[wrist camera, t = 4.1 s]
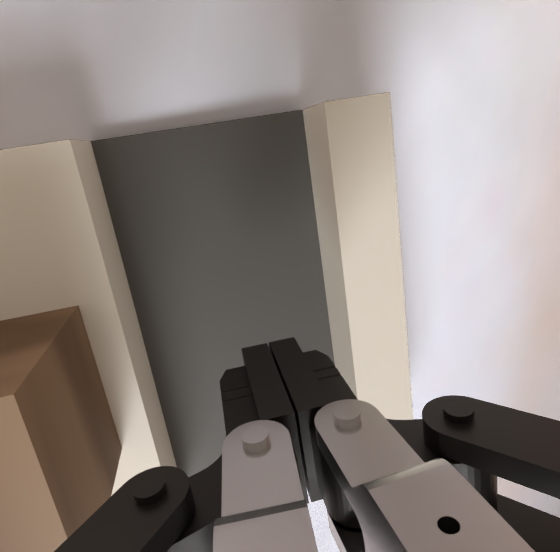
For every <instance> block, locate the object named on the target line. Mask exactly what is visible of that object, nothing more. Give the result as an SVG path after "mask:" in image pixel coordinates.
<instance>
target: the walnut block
mask: <svg viewBox="0 0 560 552" xmlns="http://www.w3.org/2000/svg"><path fill="white" fill-rule="evenodd" d="M121 451H122V446H121V443H120V440H119V437H118V433H117V430H116V427H115V423H114V420H113V417H112V414H111V410H110V407H109V404H108V400H107V397H106V394H105V391H104V387H103V384H102V381H101V377H100V374H99V371H98V368H97V364H96V361H95V358H94V354H93V351H92V348H91V345H90V341H89V338H88V335H87V331H86V328H85V325H84V322H83V318H82V315H81V312H80V308H79V305H78V306H73V307H67V308H62V309H57V310H52V311H47V312H42V313H37V314H32V315H27V316H22V317H17V318H12V319H7V320H2V321H0V552H54V551H55V550H56V549H57V548H58V547H59V546H60V545H61V544H62V543H63V542H64V541H65V540H66V539H67V538H68V537H70V536H71V535H72V534H73V533H74V532H75V531H76V530H77V529H78V528H79V527H80V526H81V525H82V524H83V523H84V522H85V521H86V520H87V519H88V518H89V517H90V516H91V515H92V514H93V513H94V512H95V511H96V510H97V509H98V508H100V507H101V506H102V505H103V504H104V503H105V502H106V501H107V500H108V499H109V498H110V497H111V495H112V490H113V486H114V482H115V477H116V473H117V469H118V464H119V460H120V456H121Z"/></svg>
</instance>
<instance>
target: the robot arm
mask: <svg viewBox="0 0 560 552" xmlns="http://www.w3.org/2000/svg"><path fill="white" fill-rule="evenodd" d="M241 350H242V356H243V361H244V366H241V367H236V368H232V369H227V370H226V371H225V372H224V374H223V376H222V377H221V379H220V389H221V398H222V406H223V414H224V422H225V430H226V438H225V440H224V442H223V446H222V454H221V456H220V457H219V458H218V459H217V460H216V461H215V462H214V463H213V464H211V465H210V466H208V467H207V468H205V469H204V470H202V471H200V472H198V473H196V474H194V475H192V476H190V477H188V476H187V474H186V473H185V472H184V471H183V470H181V469H179V468H177V467H173V466H159V467H154V468H151V469H148V470H145V471H143V472H141V473H139V474H137V475H135V476H134V477H132V478H131V479H129V480H128V481H127V482H126V483H124V484H123V485H122V486H121V487H120V488H119V489H118V490H117V491H116V492H115V493H114V494H113V495H112V496H111V497H110V498H109V499H108V500H107V501H106V502H105V503H104V504H103V505H102V506H101V507H100V508H98V509H97V510H96V511H95V512H94V513H93V514H92V515H91V516H90V517H89V518H88V519H87V520H86V521H85V522H84V523H83V524H82V525H81V526H80V527H79V528H78V529H77V530H76V531H75V532H74V533H73V534H72V535H71V536H70V537H68V538H67V539H66V540H65V541H64V542H63V543H62V544H61V545H60V546H59V547H58V548H57V549H56V550H55V551H54V552H318V550H317V545H316V541H315V537H314V532H313V528H312V523H311V519H310V515H309V510H308V506H307V503H309V502H308V495H307V490H308V493H309V496H310V499H311V502H314V501H317V500H321V499H323V500H324V503H325V505H326V508H327V514H328V521H329V528H330V531H331V533H332V535H333V538H334V540H335V542H336V544H337V546H338V548H339V550H340V552H560V518H558V517H556V516H553V515H551V514H548V513H546V512H543V511H540V510H538V509H535V508H533V507H530V506H527V505H525V504H522V503H520V502H517V501H514V500H512V499H509V498H507V497H504V496H502V495H499V494H497V476H498V477H501V478H504V479H506V480H509V481H512V482H515V483H517V484H520V485H523V486H526V487H528V488H531V489H534V490H537V491H540V492H542V493H545V494H548V495H551V496H553V497H556V498H558V499H560V421H557V420H554V419H550V418H546V417H542V416H538V415H535V414H531V413H527V412H523V411H519V410H516V409H512V408H508V407H504V406H500V405H497V404H493V403H489V402H485V401H481V400H478V399H474V398H470V397H465V396H443V397H439V398H436V399H433V400H431V401H430V402H428V403H427V404H426V405H425V406H424V408H423V411H422V419H415V420H393V419H386V418H385V417H384V416H383V415H382V414H381V413H380V411H379V410H378V409H377V408H376V407H375V406H373V405H372V404H370V403H367V402H365V401H361V400H358V399H357V398H356V396H355V395H354V393H353V392H352V390H351V389H350V387H349V386H348V384H347V383H346V381H345V380H344V378H343V377H342V376H341V374H340V372H339V371H338V369H337V368H336V367H335V365H334V363H333V362H332V360H331V359H330V357H329V356H327V355H326V354H324V353H322V352H320V351H318V350H312V351H307V352H302V350H301V348H300V347H299V345H298V343H297V341H296V339H295V338H294V337H291V338H286V339H282V340H277V341H273V342H269V347H268V344H267V343H264V344H259V345H255V346H250V347H245V348H241ZM306 487H307V489H306Z"/></svg>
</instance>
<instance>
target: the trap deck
mask: <svg viewBox="0 0 560 552" xmlns="http://www.w3.org/2000/svg"><path fill="white" fill-rule="evenodd" d="M78 305H79V308H80V312H81V315H82V318H83V322H84V325H85V328H86V331H87V335H88V338H89V341H90V345H91V348H92V351H93V354H94V358H95V361H96V364H97V368H98V371H99V374H100V377H101V381H102V384H103V387H104V391H105V394H106V397H107V400H108V404H109V407H110V410H111V414H112V417H113V420H114V423H115V427H116V430H117V433H118V437H119V440H120V443H121V446H122V451H121V456H120V460H119V464H118V469H117V473H116V477H115V482H114V486H113V490H112V495H113V494H114V493H115V492H116V491H117V490H118V489H119V488H120V487H121V486H122V485H123V484H124V483H126V482H127V481H128V480H129V479H131V478H132V477H134V476H135V475H137V474H139V473H141V472H143V471H145V470H148V469H151V468H154V467H159V466H173V467H177V468H179V469H181V470H183V471H184V472H185V473H186V474H187V476H188V477H190V476H192V475H194V474H196V473H198V472H200V471H202V470H204V469H205V468H207V467H208V466H210V465H211V464H213V463H214V462H215V461H216V460H217V459H218V458H219V457H220V456H221V454H222V446H223V442H224V440H225V438H226V430H225V422H224V414H223V406H222V398H221V389H220V379H221V377H222V376H223V374H224V372H225V371H226V370H227V369H232V368H236V367H241V366H244V361H243V356H242V350H241V348H245V347H250V346H255V345H259V344H264V343H267V344H268V347H269V342H273V341H277V340H282V339H286V338H291V337H294V338H295V339H296V341H297V343H298V345H299V347H300V348H301V350H302V352H307V351H312V350H318V351H320V352H322V353H324V354H326V355H327V356H329V357H330V359H331V360H332V362H333V363H334V365H335V367H336V368H337V369H338V371H339V372H340V374H341V376H342V377H343V378H344V380H345V381H346V383H347V384H348V386H349V387H350V389H351V390H352V392H353V393H354V395H355V396H356V398H357V399H358V400H361V401H365V402H367V403H370V404H372V405H373V406H375V407H376V408H377V409H378V410H379V411H380V413H381V414H382V415H383V416H384V417H385V418H386V419H393V420H413V412H412V398H411V384H410V370H409V355H408V341H407V327H406V313H405V299H404V285H403V271H402V257H401V242H400V228H399V214H398V200H397V186H396V172H395V158H394V143H393V129H392V115H391V101H390V92H387V93H381V94H374V95H367V96H360V97H353V98H347V99H340V100H333V101H326V102H322V103H320V104H317V105H314V106H312V107H309V108H306V109H303V110H298V111H291V112H285V113H278V114H271V115H264V116H258V117H251V118H244V119H238V120H231V121H224V122H218V123H211V124H204V125H197V126H191V127H184V128H177V129H171V130H164V131H157V132H151V133H144V134H137V135H130V136H124V137H117V138H110V139H104V140H97V141H81V140H71V139H69V140H62V141H55V142H49V143H42V144H35V145H28V146H21V147H15V148H8V149H1V150H0V321H2V320H7V319H12V318H17V317H22V316H27V315H32V314H37V313H42V312H47V311H52V310H57V309H62V308H67V307H73V306H78ZM112 495H111V496H112Z"/></svg>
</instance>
